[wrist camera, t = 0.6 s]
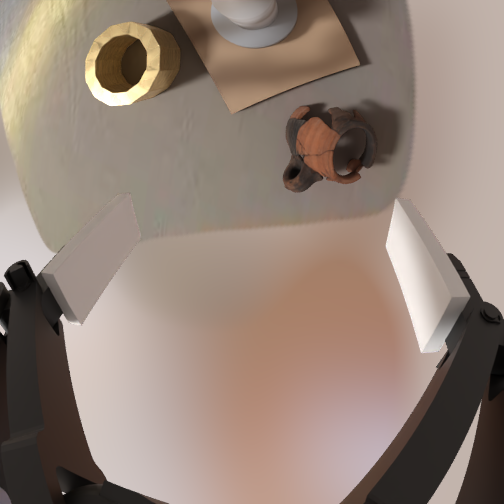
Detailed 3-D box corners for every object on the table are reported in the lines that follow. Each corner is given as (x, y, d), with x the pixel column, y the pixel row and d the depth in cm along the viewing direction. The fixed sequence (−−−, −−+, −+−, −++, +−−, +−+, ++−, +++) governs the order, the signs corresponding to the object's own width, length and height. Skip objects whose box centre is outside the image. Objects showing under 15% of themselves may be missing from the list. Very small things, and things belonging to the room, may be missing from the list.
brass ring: (101, 56, 29) (74, 59, 24) (159, 13, 25) (136, 6, 20) (132, 111, 33) (108, 121, 29) (193, 72, 30) (175, 73, 25)
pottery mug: (308, 82, 30) (355, 95, 24) (351, 126, 36) (394, 147, 30) (249, 161, 33) (282, 191, 27) (300, 194, 39) (335, 225, 33)
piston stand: (163, -11, 23) (117, -31, 14) (280, -64, 18) (274, -106, 9) (234, 112, 32) (209, 129, 24) (357, 65, 27) (384, 62, 18)
